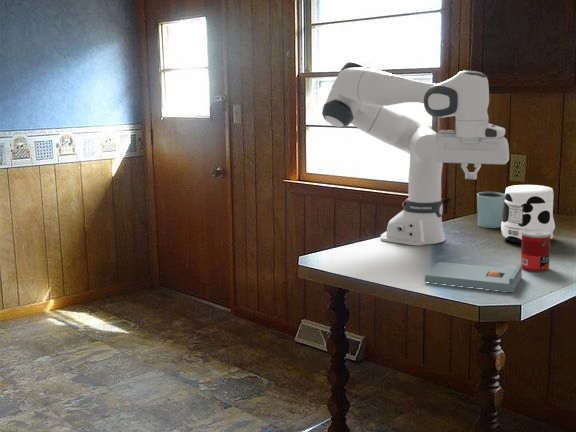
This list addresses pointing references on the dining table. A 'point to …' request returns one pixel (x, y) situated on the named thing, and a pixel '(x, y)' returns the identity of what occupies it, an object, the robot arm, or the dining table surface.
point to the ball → (493, 274)
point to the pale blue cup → (490, 209)
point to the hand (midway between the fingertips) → (470, 179)
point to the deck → (474, 276)
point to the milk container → (527, 211)
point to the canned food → (535, 250)
